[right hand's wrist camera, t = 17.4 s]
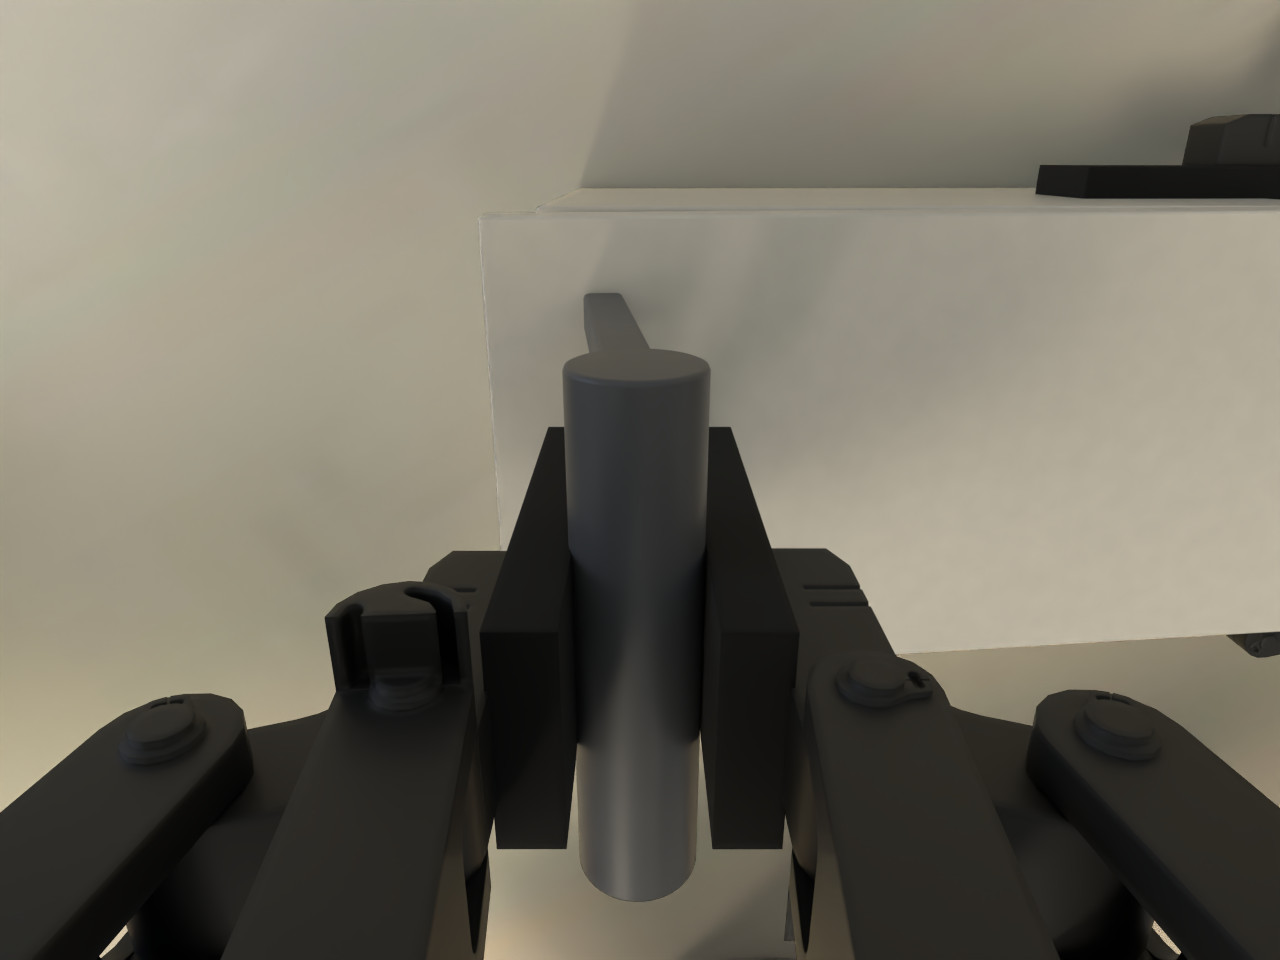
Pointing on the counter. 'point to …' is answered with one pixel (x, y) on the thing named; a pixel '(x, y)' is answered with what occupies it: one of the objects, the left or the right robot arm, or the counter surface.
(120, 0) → the counter surface
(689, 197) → the chest
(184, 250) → the counter surface
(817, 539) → the lid
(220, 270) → the counter surface
